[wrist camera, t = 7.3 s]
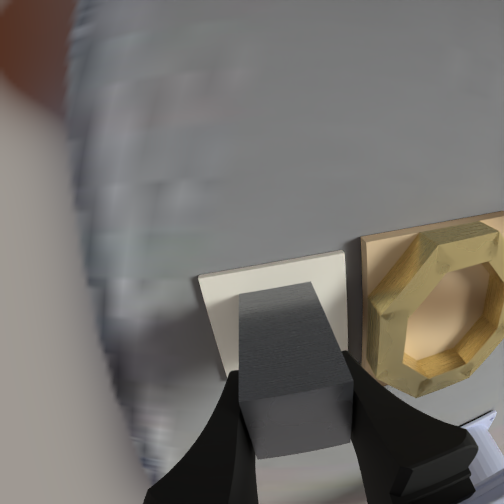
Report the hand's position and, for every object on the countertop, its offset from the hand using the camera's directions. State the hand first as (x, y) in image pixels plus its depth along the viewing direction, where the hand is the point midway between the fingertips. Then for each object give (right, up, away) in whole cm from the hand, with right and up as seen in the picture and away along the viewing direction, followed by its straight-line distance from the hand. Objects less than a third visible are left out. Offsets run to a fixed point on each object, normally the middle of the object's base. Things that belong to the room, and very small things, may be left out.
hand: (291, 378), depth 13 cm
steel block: (0, +2, +3) cm, 4 cm away
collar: (+9, +2, +4) cm, 10 cm away
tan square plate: (+9, +2, +4) cm, 10 cm away
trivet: (0, +2, +4) cm, 4 cm away
